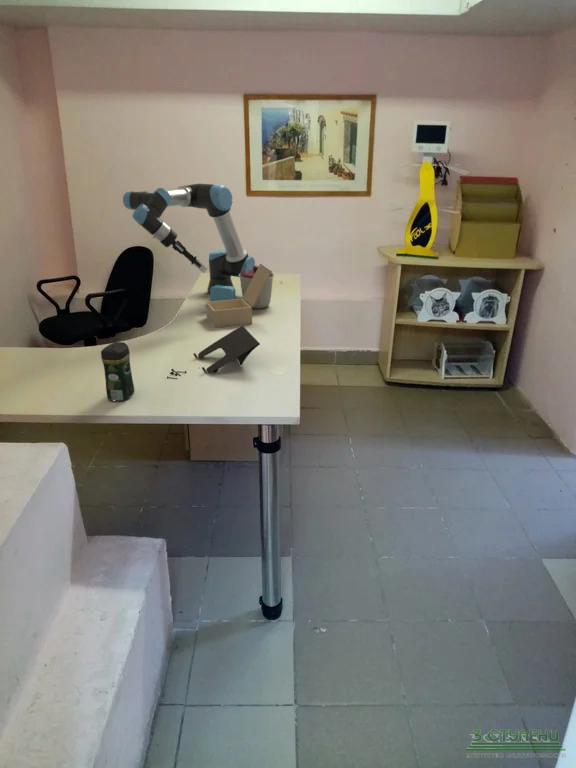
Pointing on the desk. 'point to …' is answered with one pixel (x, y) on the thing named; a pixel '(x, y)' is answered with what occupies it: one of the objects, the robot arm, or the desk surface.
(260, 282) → the mailer lid
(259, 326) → the desk surface
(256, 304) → the canister
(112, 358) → the coffee jar
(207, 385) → the desk surface
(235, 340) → the portable electronic device stand
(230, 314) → the box
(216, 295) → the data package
